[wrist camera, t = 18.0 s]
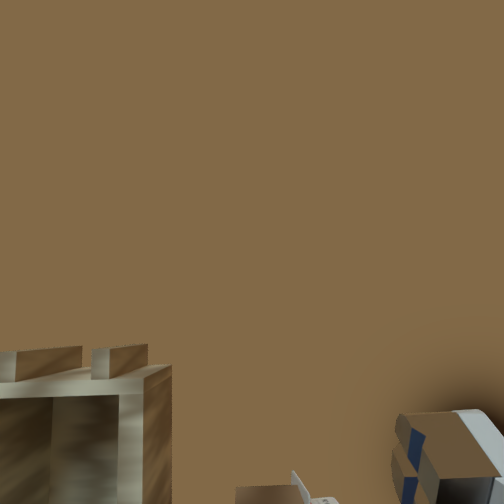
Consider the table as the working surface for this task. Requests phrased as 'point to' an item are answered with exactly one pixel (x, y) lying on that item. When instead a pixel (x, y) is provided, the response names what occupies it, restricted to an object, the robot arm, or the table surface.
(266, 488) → the walnut strip
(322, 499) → the ink cartridge box
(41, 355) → the birch rack
